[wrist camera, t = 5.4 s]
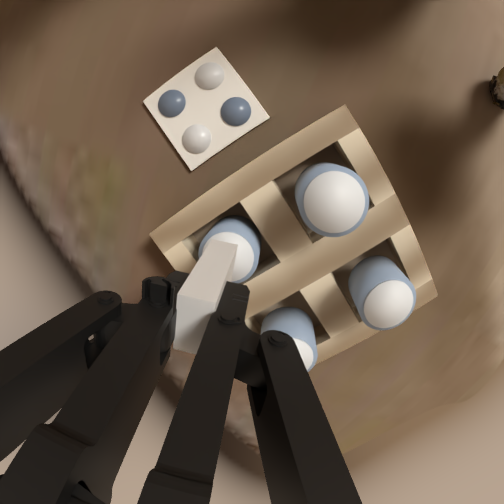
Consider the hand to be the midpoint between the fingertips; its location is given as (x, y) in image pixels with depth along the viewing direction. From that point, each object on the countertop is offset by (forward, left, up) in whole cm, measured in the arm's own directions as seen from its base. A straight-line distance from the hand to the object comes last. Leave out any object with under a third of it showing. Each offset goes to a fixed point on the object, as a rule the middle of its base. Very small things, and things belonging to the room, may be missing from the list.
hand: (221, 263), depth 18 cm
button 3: (+8, 0, -4) cm, 9 cm away
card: (-9, +3, -7) cm, 12 cm away
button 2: (0, +7, -4) cm, 8 cm away
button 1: (0, 0, -6) cm, 6 cm away
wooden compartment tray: (+4, +3, -7) cm, 8 cm away
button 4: (+8, +7, -4) cm, 11 cm away
